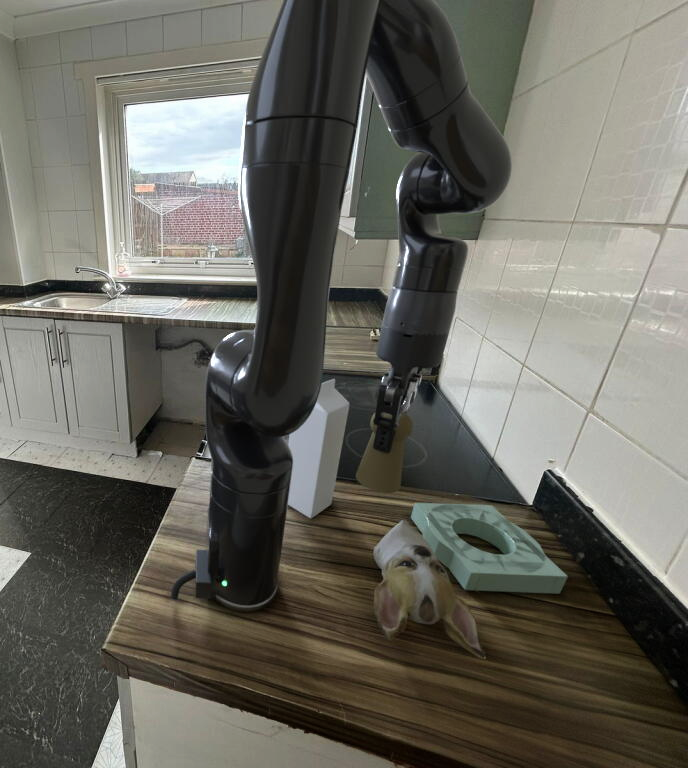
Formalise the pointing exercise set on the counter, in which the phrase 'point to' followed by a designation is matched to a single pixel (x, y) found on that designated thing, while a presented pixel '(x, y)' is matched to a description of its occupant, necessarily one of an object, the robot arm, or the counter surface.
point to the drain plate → (482, 569)
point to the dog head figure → (419, 590)
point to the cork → (384, 459)
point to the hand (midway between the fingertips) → (386, 442)
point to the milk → (318, 452)
